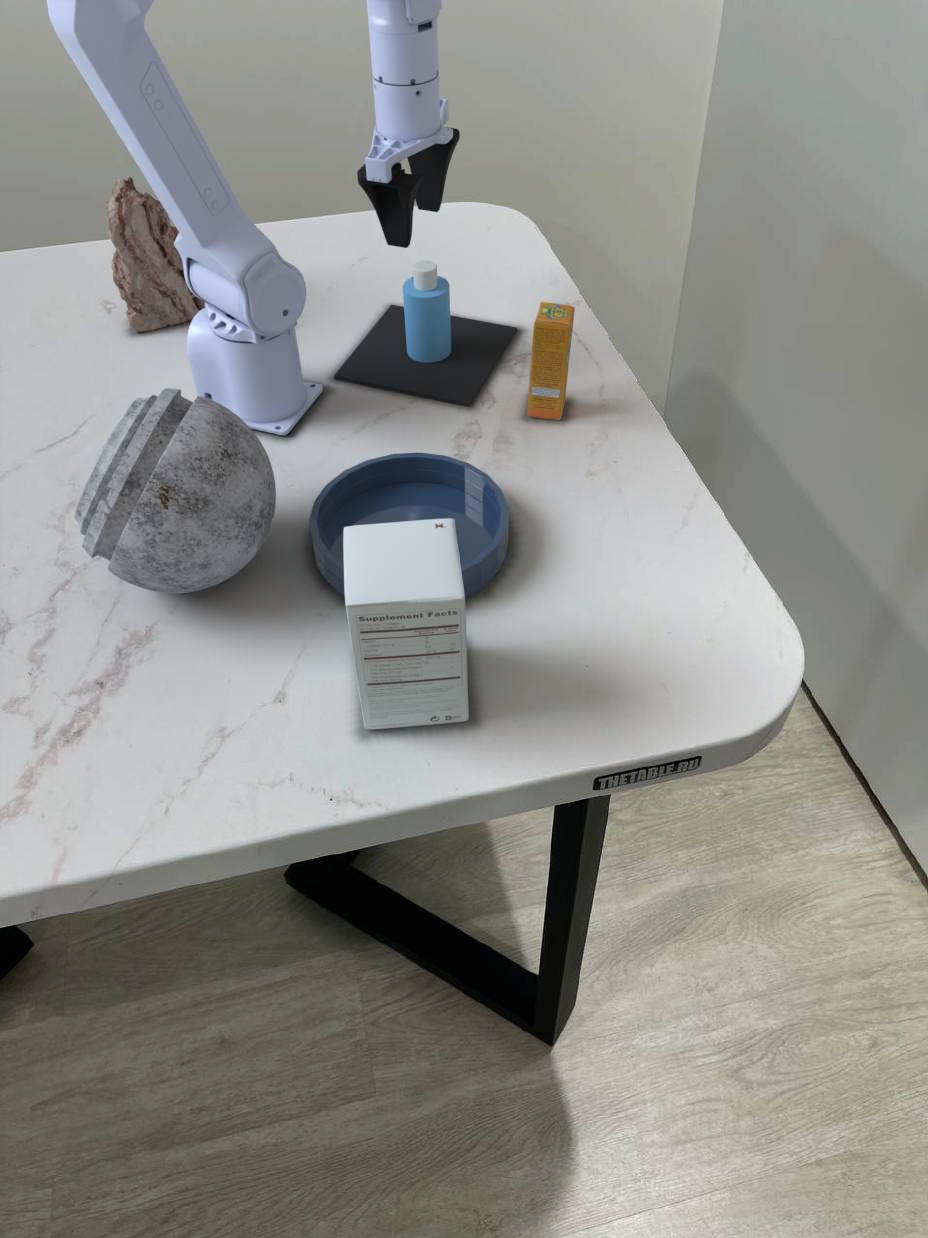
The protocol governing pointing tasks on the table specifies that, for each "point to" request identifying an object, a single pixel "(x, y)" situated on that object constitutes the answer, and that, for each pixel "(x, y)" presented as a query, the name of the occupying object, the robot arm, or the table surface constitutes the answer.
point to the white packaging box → (407, 622)
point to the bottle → (427, 314)
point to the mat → (445, 380)
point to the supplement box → (550, 360)
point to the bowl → (414, 510)
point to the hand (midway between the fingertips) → (414, 226)
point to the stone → (147, 260)
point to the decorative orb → (178, 495)
